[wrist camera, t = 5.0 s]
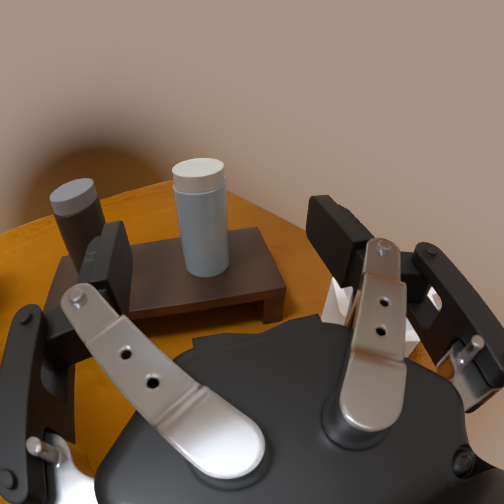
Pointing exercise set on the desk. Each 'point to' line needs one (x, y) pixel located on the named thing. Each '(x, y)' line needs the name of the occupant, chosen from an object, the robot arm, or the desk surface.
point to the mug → (338, 310)
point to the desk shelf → (192, 279)
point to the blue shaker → (202, 215)
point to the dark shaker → (78, 216)
